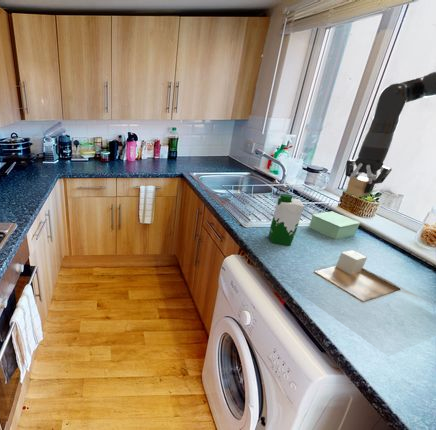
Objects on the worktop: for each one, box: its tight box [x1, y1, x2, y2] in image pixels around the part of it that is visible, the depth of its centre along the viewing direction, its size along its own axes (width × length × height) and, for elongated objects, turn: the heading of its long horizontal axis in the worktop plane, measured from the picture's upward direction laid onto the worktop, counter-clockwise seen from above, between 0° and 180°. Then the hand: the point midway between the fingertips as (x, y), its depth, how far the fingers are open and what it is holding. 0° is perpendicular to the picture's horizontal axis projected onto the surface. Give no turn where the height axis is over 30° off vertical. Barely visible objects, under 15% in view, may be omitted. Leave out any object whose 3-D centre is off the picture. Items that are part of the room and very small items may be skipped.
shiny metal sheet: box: [313, 265, 401, 303], centre depth 96 cm, size 18×16×1 cm
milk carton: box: [268, 193, 305, 247], centre depth 116 cm, size 9×9×20 cm
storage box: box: [308, 210, 362, 241], centre depth 124 cm, size 13×13×8 cm
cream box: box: [335, 249, 368, 274], centre depth 100 cm, size 6×5×6 cm
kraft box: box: [345, 175, 371, 198], centre depth 107 cm, size 6×5×6 cm
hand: (358, 190), depth 108 cm, fingers closed on kraft box, 5 cm apart
